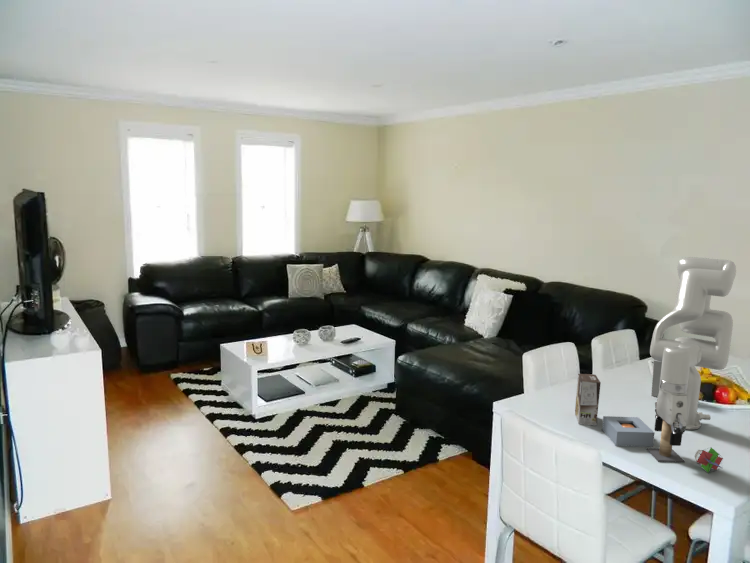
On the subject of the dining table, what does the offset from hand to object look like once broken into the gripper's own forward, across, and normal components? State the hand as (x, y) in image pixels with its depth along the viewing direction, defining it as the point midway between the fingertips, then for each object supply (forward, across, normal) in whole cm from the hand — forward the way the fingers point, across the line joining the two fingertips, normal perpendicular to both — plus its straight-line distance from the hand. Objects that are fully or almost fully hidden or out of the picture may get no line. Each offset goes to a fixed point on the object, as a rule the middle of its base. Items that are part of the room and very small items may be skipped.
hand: (667, 437), depth 171 cm
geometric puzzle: (+6, -8, -9) cm, 14 cm away
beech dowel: (+5, 0, 0) cm, 5 cm away
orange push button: (+6, +12, +7) cm, 15 cm away
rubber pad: (+6, 0, 0) cm, 6 cm away
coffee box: (+6, +26, +16) cm, 31 cm away
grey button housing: (+6, +12, +7) cm, 15 cm away
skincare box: (+6, +52, -24) cm, 58 cm away
